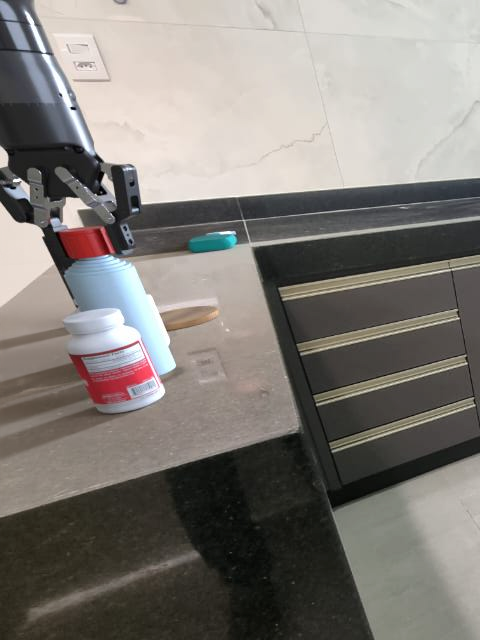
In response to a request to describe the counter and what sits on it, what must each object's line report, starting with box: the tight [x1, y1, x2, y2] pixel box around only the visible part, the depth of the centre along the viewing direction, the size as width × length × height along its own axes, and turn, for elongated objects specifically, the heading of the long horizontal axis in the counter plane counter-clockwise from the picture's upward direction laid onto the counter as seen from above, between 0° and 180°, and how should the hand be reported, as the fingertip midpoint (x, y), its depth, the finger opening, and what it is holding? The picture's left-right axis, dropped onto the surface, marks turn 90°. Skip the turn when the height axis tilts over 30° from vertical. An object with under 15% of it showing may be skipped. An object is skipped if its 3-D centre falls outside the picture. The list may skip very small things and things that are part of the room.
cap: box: [58, 225, 115, 259], centre depth 64 cm, size 4×4×3 cm
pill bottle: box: [62, 308, 166, 414], centre depth 60 cm, size 6×6×11 cm
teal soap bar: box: [187, 230, 238, 254], centre depth 155 cm, size 3×11×24 cm
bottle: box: [64, 254, 177, 377], centre depth 67 cm, size 6×6×18 cm
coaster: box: [159, 305, 220, 331], centre depth 90 cm, size 10×10×1 cm
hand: (98, 255), depth 64 cm, fingers open, 5 cm apart
